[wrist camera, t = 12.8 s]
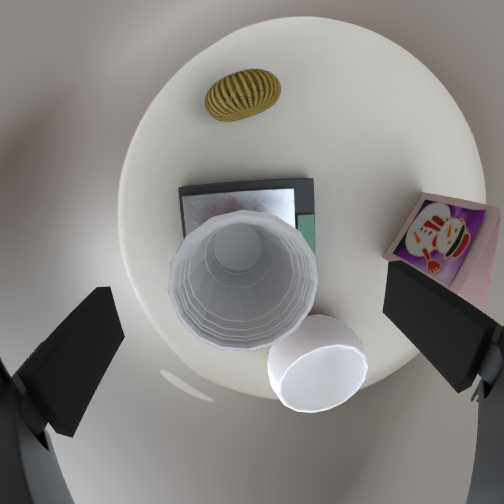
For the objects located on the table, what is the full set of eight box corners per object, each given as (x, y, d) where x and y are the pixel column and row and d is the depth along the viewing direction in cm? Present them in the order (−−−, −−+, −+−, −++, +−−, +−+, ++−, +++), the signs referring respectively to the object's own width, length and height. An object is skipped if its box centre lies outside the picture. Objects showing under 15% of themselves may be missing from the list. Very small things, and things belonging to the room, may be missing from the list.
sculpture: (215, 131, 29) (210, 117, 21) (203, 102, 28) (194, 80, 20) (279, 109, 29) (294, 90, 21) (267, 81, 28) (278, 55, 20)
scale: (181, 187, 31) (176, 188, 28) (308, 178, 31) (315, 178, 29) (195, 297, 34) (192, 307, 32) (310, 287, 35) (316, 296, 33)
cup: (332, 370, 40) (352, 411, 30) (256, 369, 38) (263, 416, 29) (354, 302, 36) (386, 338, 27) (270, 297, 35) (283, 338, 26)
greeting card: (419, 188, 33) (498, 203, 18) (445, 218, 34) (517, 242, 20) (379, 254, 35) (449, 298, 20) (408, 279, 36) (472, 325, 22)
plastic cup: (302, 268, 31) (339, 319, 20) (217, 305, 32) (211, 371, 20) (265, 180, 28) (289, 184, 17) (174, 222, 29) (139, 252, 17)
